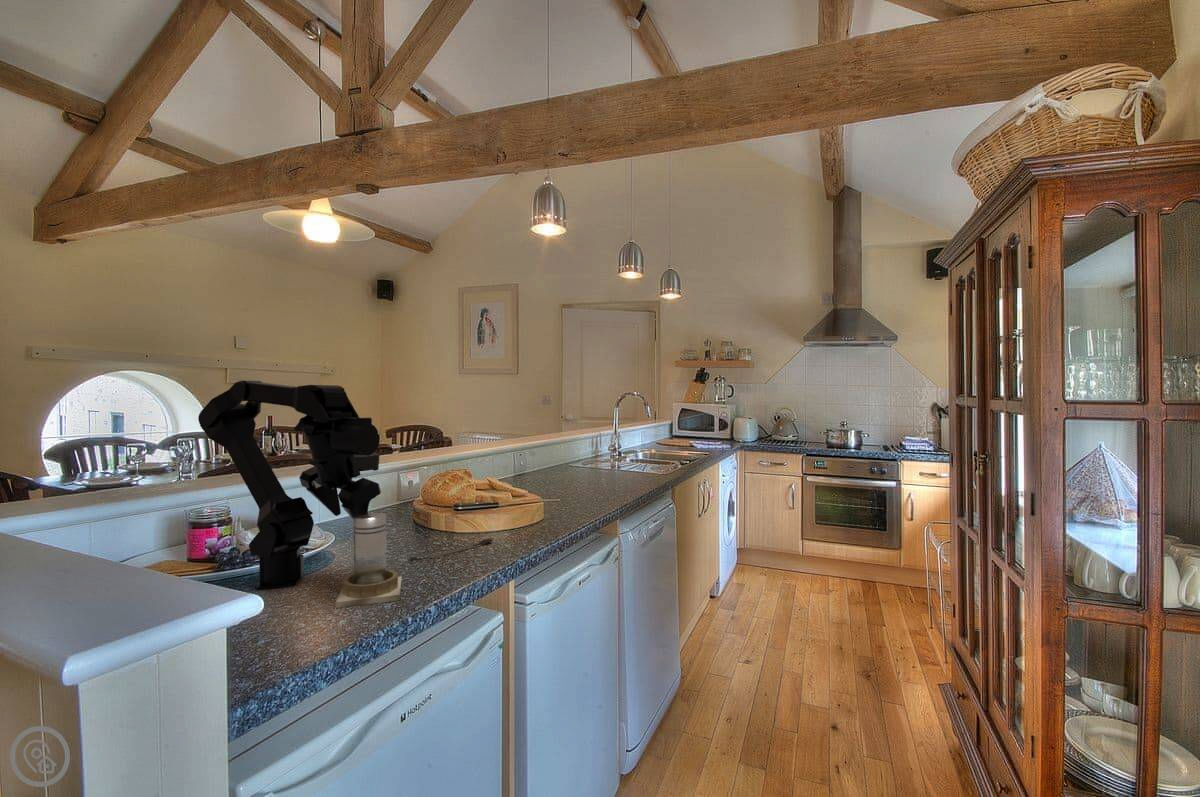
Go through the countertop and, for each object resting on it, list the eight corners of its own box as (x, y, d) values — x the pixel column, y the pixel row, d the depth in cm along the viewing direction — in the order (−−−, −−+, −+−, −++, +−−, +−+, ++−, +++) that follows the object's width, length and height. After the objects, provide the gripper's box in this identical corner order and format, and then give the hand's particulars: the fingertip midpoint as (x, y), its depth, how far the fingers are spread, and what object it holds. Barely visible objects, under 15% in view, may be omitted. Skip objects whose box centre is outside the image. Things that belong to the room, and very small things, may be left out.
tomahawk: (423, 572, 109) (423, 567, 109) (408, 563, 114) (408, 558, 114) (505, 549, 125) (505, 544, 125) (488, 541, 129) (489, 537, 129)
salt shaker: (351, 595, 91) (351, 520, 91) (355, 584, 96) (355, 514, 96) (385, 591, 93) (385, 518, 93) (387, 581, 98) (387, 512, 98)
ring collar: (335, 608, 88) (335, 590, 88) (344, 587, 98) (344, 571, 98) (399, 600, 92) (399, 583, 92) (401, 581, 101) (401, 565, 101)
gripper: (395, 442, 99) (413, 512, 105) (341, 425, 110) (361, 490, 115) (339, 468, 91) (363, 543, 96) (287, 448, 101) (311, 516, 107)
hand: (350, 520), depth 104 cm, fingers open, 9 cm apart
